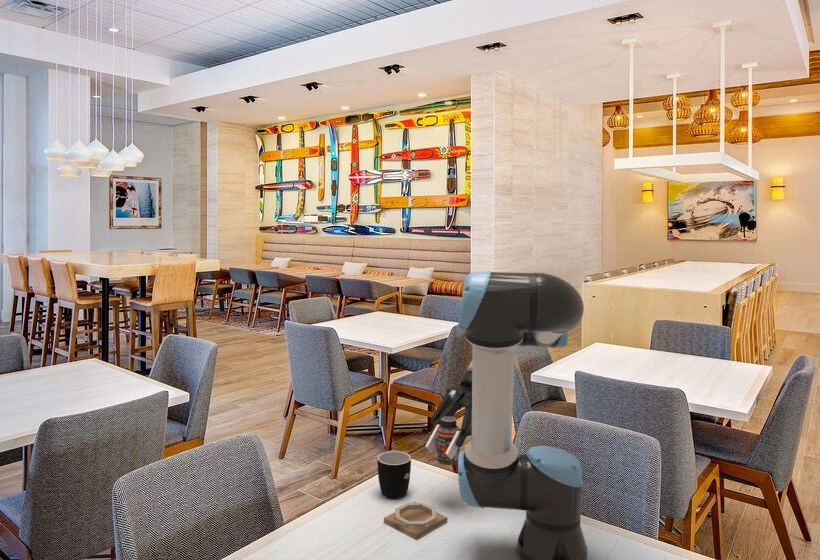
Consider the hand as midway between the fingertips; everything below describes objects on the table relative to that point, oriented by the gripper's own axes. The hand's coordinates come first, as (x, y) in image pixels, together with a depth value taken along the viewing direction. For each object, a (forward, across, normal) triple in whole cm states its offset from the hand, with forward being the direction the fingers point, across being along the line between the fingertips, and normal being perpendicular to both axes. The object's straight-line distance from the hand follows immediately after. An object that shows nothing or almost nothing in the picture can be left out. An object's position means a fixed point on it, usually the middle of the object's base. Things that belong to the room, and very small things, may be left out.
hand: (438, 452), depth 147 cm
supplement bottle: (0, 0, -5) cm, 5 cm away
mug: (+11, +15, -11) cm, 22 cm away
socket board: (+17, 0, -5) cm, 17 cm away
